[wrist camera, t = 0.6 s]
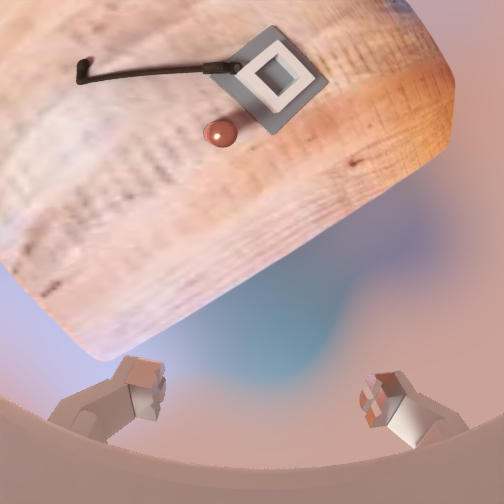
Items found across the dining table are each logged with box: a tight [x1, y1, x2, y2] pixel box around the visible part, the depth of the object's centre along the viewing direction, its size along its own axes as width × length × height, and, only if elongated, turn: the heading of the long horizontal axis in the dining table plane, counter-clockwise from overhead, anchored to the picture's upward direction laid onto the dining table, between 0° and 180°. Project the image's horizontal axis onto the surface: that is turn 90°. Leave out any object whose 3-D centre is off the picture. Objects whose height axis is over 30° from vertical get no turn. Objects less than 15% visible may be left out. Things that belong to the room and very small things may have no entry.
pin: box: [203, 120, 237, 148], centre depth 42 cm, size 4×4×11 cm
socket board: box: [210, 25, 328, 135], centre depth 42 cm, size 16×16×4 cm
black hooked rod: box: [76, 59, 242, 85], centre depth 37 cm, size 5×5×30 cm
